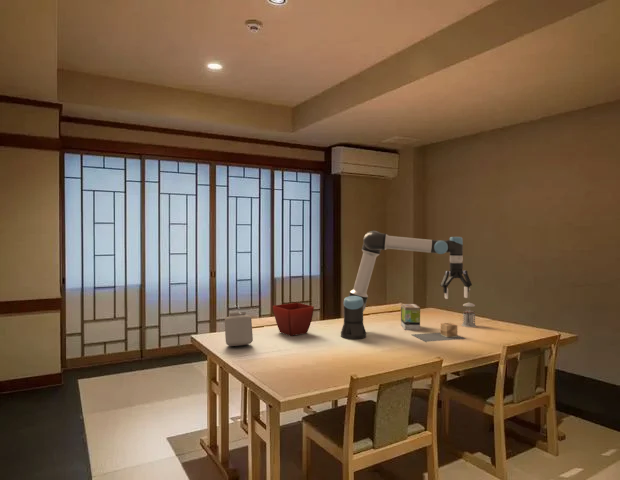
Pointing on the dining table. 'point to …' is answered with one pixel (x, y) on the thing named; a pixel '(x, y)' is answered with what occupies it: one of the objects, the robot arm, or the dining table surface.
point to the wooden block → (448, 329)
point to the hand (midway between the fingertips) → (456, 298)
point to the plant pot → (293, 318)
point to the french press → (468, 316)
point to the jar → (238, 329)
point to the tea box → (410, 316)
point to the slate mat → (435, 337)
